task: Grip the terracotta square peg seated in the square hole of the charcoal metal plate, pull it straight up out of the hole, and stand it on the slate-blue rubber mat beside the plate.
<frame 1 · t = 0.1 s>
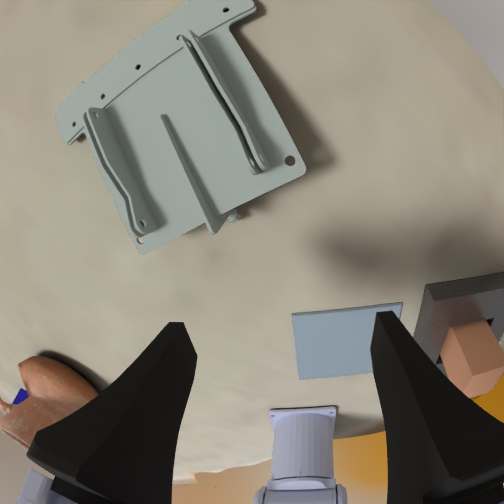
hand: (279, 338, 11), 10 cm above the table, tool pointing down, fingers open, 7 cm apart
rubber mat: (346, 345, 25), on the table
socket plate: (458, 327, 23), on the table
square peg: (457, 327, 23), resting in socket plate
cable clip: (39, 404, 49), on the table
ceramic jug: (73, 379, 36), on the table
metal bracket: (181, 118, 17), on the table
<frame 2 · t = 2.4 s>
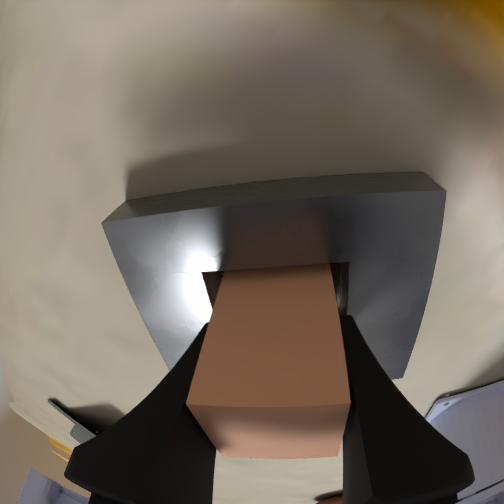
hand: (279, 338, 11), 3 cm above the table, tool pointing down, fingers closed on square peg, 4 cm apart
socket plate: (282, 289, 13), on the table
square peg: (281, 289, 13), resting in socket plate, touching gripper
ceramic jug: (352, 495, 37), on the table
metal bracket: (119, 431, 28), on the table
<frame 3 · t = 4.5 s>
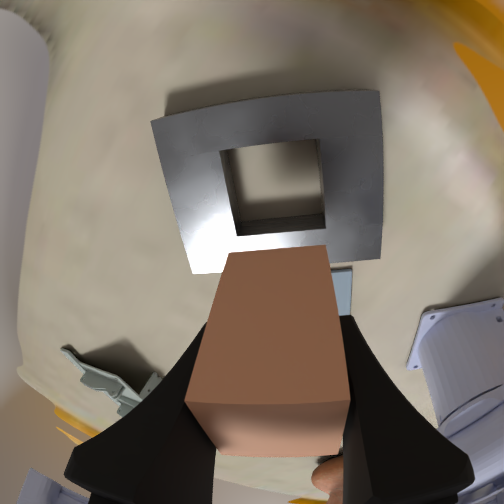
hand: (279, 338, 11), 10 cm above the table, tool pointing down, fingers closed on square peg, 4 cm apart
rubber mat: (293, 319, 24), on the table
socket plate: (276, 178, 18), on the table
square peg: (281, 287, 13), point 7 cm above the table, touching gripper
ceramic jug: (355, 457, 41), on the table
metal bracket: (127, 379, 33), on the table
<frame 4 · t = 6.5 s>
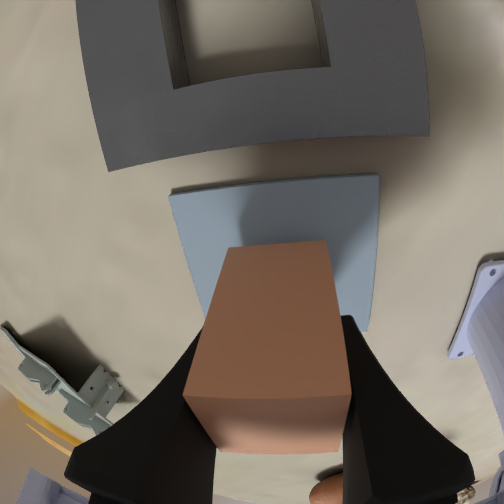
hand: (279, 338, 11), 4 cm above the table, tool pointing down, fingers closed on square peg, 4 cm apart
rubber mat: (282, 270, 15), on the table
socket plate: (245, 16, 9), on the table
square peg: (281, 283, 13), point 1 cm above the table, touching gripper
ceramic jug: (362, 472, 32), on the table
metal bracket: (74, 371, 25), on the table
skull: (462, 487, 55), on the table
when the fingers open (4 cm above the table, at t = 6.8 s): square peg drops 1 cm, resting on rubber mat.
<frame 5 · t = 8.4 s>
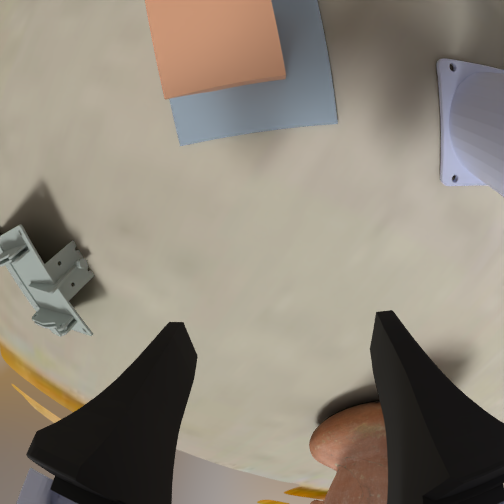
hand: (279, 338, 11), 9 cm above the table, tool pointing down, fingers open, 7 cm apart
rubber mat: (242, 55, 14), on the table
square peg: (241, 50, 13), resting on rubber mat
ceramic jug: (370, 414, 31), on the table
metal bracket: (47, 268, 24), on the table
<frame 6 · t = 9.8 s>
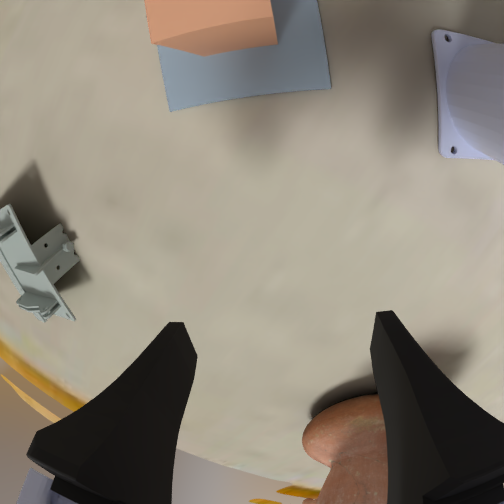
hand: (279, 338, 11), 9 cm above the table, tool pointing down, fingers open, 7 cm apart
rubber mat: (235, 22, 13), on the table
square peg: (234, 17, 12), resting on rubber mat
ceramic jug: (366, 409, 30), on the table
metal bracket: (34, 251, 23), on the table
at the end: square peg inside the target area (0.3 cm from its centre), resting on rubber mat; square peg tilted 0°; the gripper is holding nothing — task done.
